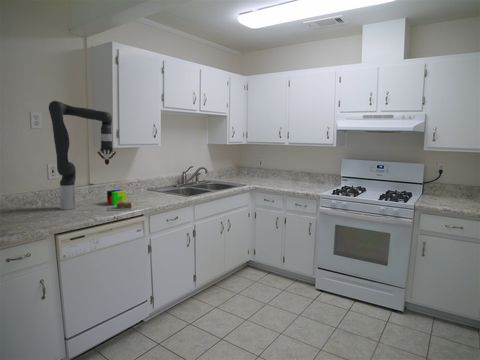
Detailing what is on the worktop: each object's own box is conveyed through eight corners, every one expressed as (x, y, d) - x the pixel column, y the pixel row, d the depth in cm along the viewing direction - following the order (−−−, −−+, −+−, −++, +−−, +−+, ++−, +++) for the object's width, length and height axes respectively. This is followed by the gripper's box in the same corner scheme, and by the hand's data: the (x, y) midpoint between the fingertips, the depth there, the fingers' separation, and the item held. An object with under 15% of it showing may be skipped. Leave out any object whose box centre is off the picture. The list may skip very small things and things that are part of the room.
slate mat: (107, 210, 230) (107, 210, 230) (108, 207, 242) (108, 206, 242) (131, 209, 235) (131, 209, 235) (131, 206, 246) (131, 205, 246)
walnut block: (116, 203, 235) (131, 202, 238) (116, 202, 239) (131, 201, 242) (116, 208, 236) (131, 208, 239) (116, 207, 240) (131, 206, 243)
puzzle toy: (119, 201, 261) (118, 189, 260) (126, 203, 255) (125, 191, 254) (107, 203, 254) (107, 191, 252) (114, 205, 248) (113, 192, 246)
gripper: (95, 140, 227) (96, 165, 230) (116, 140, 231) (116, 165, 234) (97, 140, 234) (97, 164, 237) (116, 140, 238) (117, 164, 241)
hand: (107, 164), depth 235 cm, fingers closed
